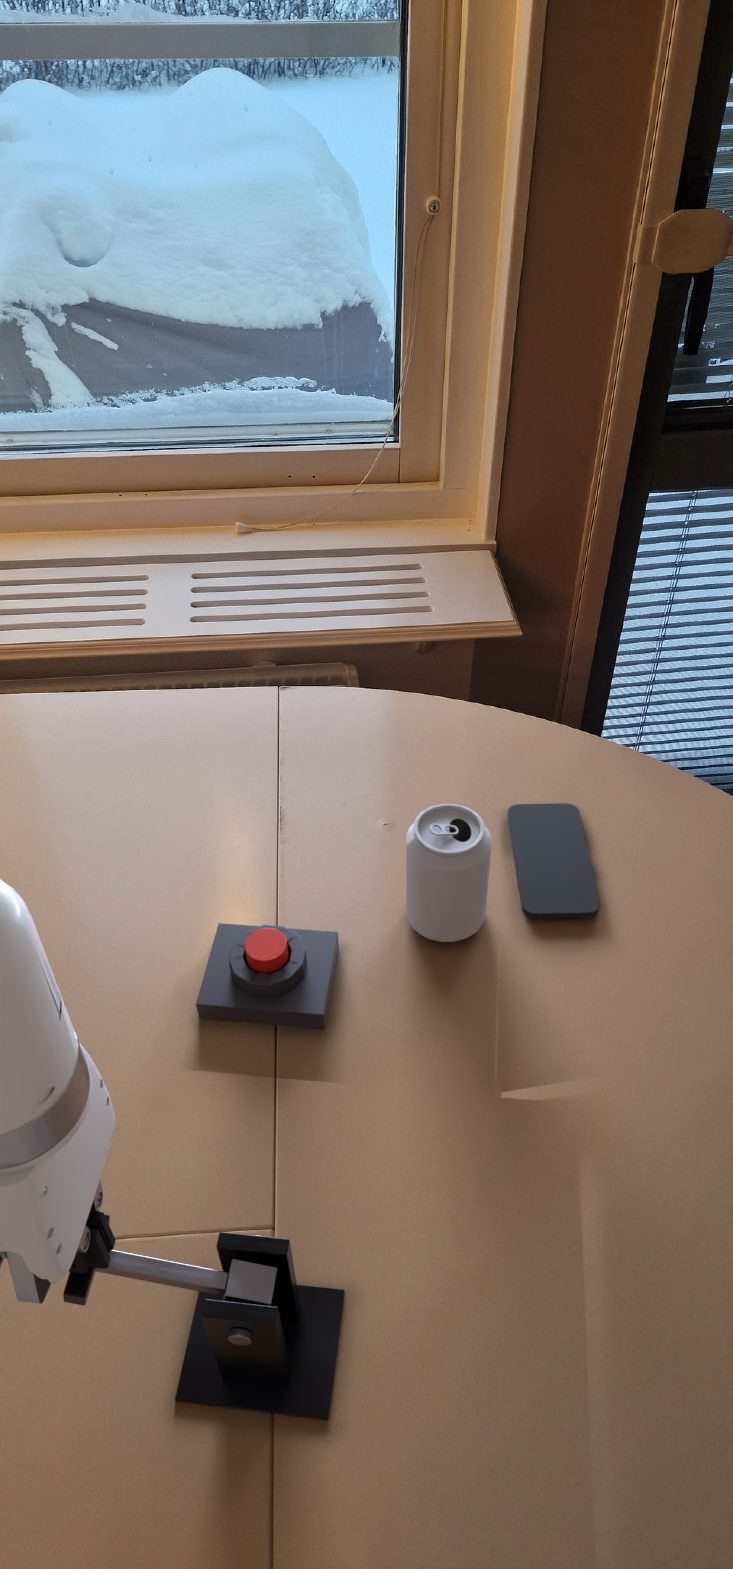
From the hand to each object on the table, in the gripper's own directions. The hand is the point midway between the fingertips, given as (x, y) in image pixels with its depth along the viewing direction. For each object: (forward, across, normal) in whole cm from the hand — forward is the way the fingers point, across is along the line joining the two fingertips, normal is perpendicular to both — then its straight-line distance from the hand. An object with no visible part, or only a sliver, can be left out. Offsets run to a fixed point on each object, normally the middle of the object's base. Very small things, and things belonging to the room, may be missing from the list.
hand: (87, 1252), depth 62 cm
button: (+9, -30, +5) cm, 32 cm away
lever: (+3, 0, +5) cm, 6 cm away
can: (+13, -39, +20) cm, 46 cm away
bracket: (+13, 0, +10) cm, 16 cm away
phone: (+13, -47, +30) cm, 57 cm away
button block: (+13, -30, +4) cm, 33 cm away
